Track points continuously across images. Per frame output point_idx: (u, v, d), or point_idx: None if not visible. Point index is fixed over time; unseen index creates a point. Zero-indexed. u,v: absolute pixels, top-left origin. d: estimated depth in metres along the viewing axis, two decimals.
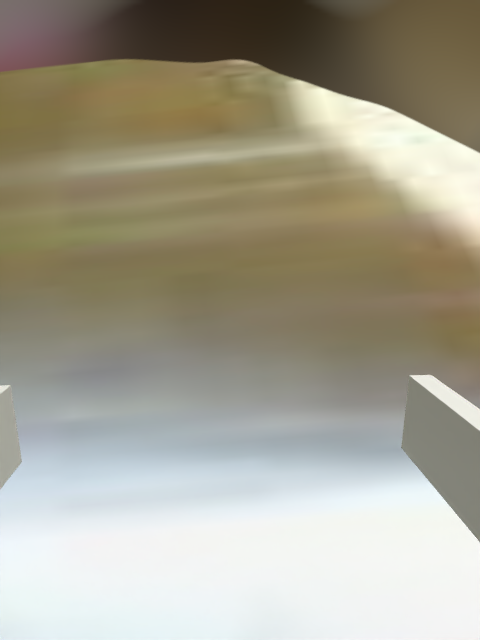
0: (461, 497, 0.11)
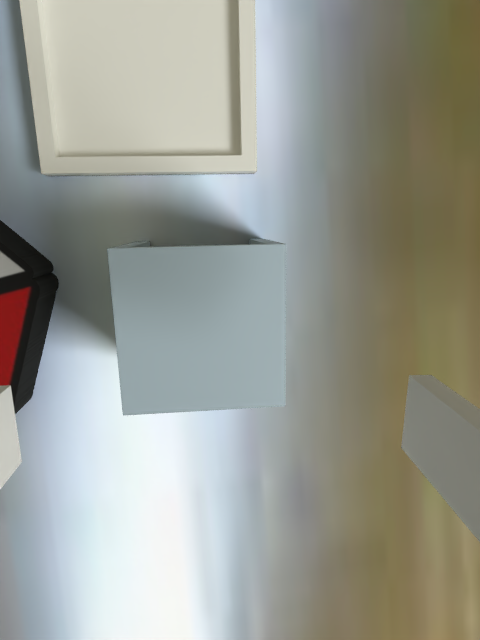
0: (461, 497, 0.11)
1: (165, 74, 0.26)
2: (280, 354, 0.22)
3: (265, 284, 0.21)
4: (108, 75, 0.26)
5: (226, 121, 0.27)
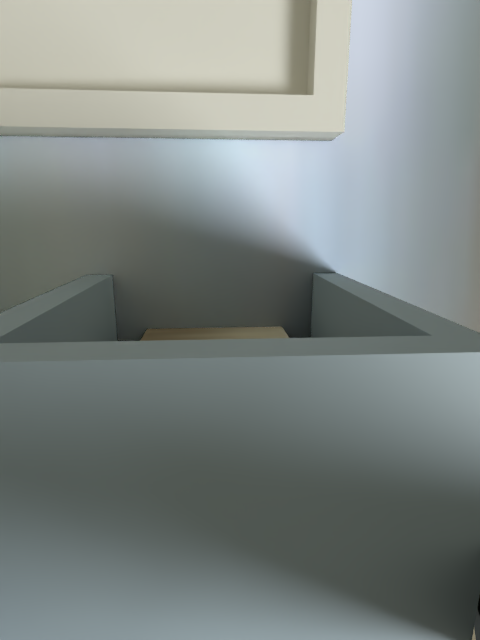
0: None
1: None
2: None
3: (435, 475, 0.06)
4: None
5: (280, 20, 0.12)
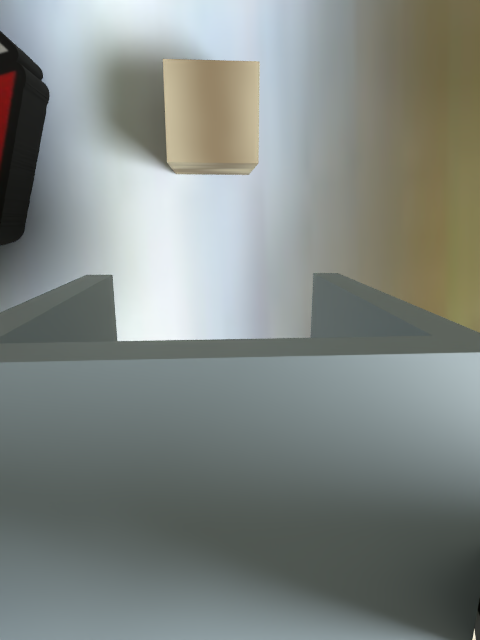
0: None
1: None
2: None
3: (436, 476, 0.06)
4: None
5: None
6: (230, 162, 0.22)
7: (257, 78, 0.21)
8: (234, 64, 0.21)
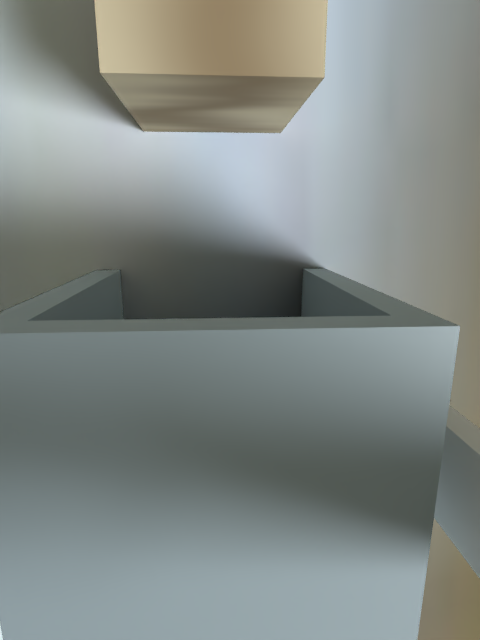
0: None
1: None
2: (411, 588, 0.09)
3: (392, 428, 0.08)
4: None
5: None
6: (256, 75, 0.09)
7: None
8: None
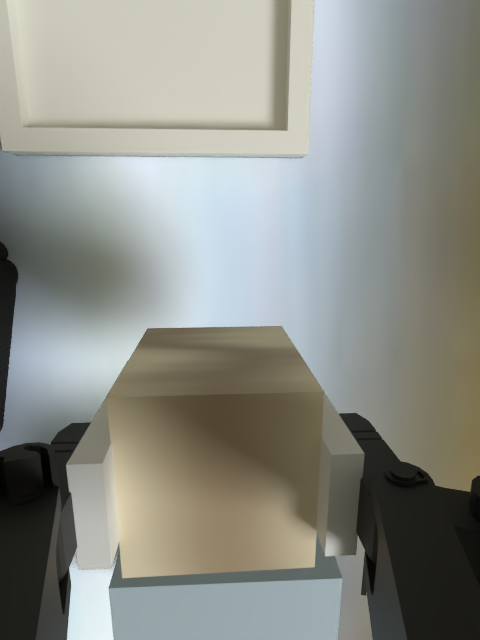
0: None
1: (181, 9, 0.18)
2: None
3: (312, 620, 0.16)
4: (99, 9, 0.18)
5: (266, 81, 0.19)
6: (256, 568, 0.11)
7: (318, 423, 0.10)
8: (268, 399, 0.09)
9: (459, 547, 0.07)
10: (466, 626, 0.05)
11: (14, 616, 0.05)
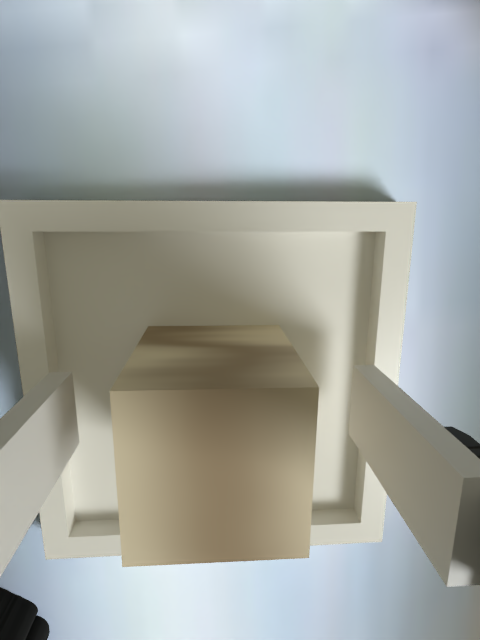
0: (388, 475, 0.12)
1: None
2: None
3: None
4: None
5: (336, 463, 0.17)
6: (252, 558, 0.11)
7: (313, 417, 0.10)
8: (265, 394, 0.10)
9: None
10: None
11: None
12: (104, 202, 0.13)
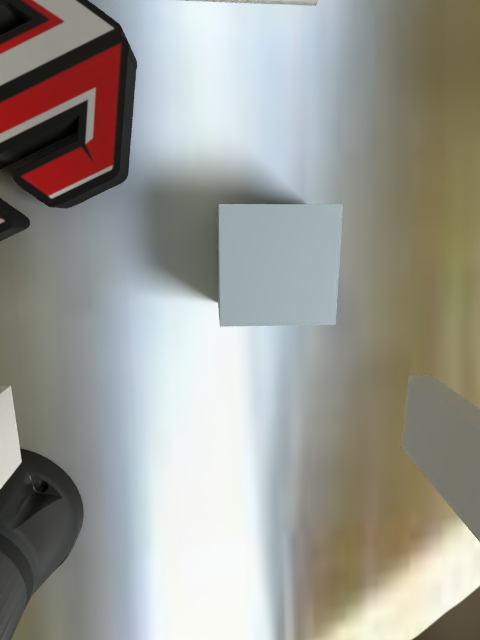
0: (461, 497, 0.11)
1: None
2: (334, 285, 0.31)
3: (326, 233, 0.30)
4: None
5: None
6: None
7: None
8: None
9: None
10: None
11: None
12: None
